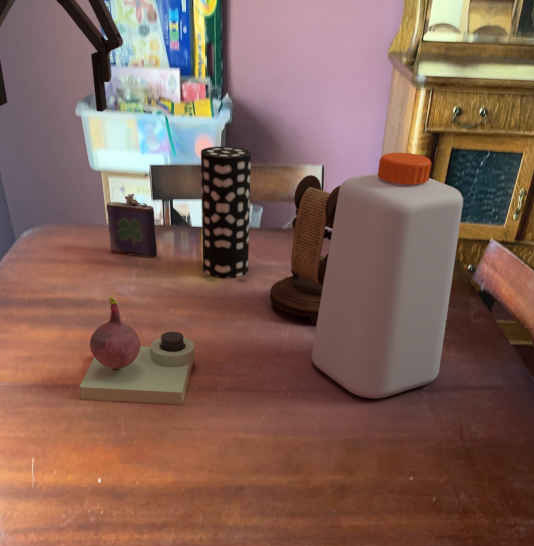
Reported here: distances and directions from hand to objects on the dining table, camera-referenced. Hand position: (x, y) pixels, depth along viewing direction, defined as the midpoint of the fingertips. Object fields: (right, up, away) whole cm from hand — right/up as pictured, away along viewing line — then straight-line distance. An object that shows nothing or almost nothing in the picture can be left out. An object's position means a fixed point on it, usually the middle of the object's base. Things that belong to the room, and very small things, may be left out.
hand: (51, 107), depth 91 cm
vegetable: (+10, -36, -2) cm, 37 cm away
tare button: (+16, -32, +1) cm, 36 cm away
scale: (+12, -37, 0) cm, 39 cm away
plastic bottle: (+44, -35, +5) cm, 57 cm away
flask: (+4, -7, +38) cm, 39 cm away
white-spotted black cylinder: (+21, -12, +33) cm, 41 cm away
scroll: (+37, -22, +21) cm, 48 cm away
